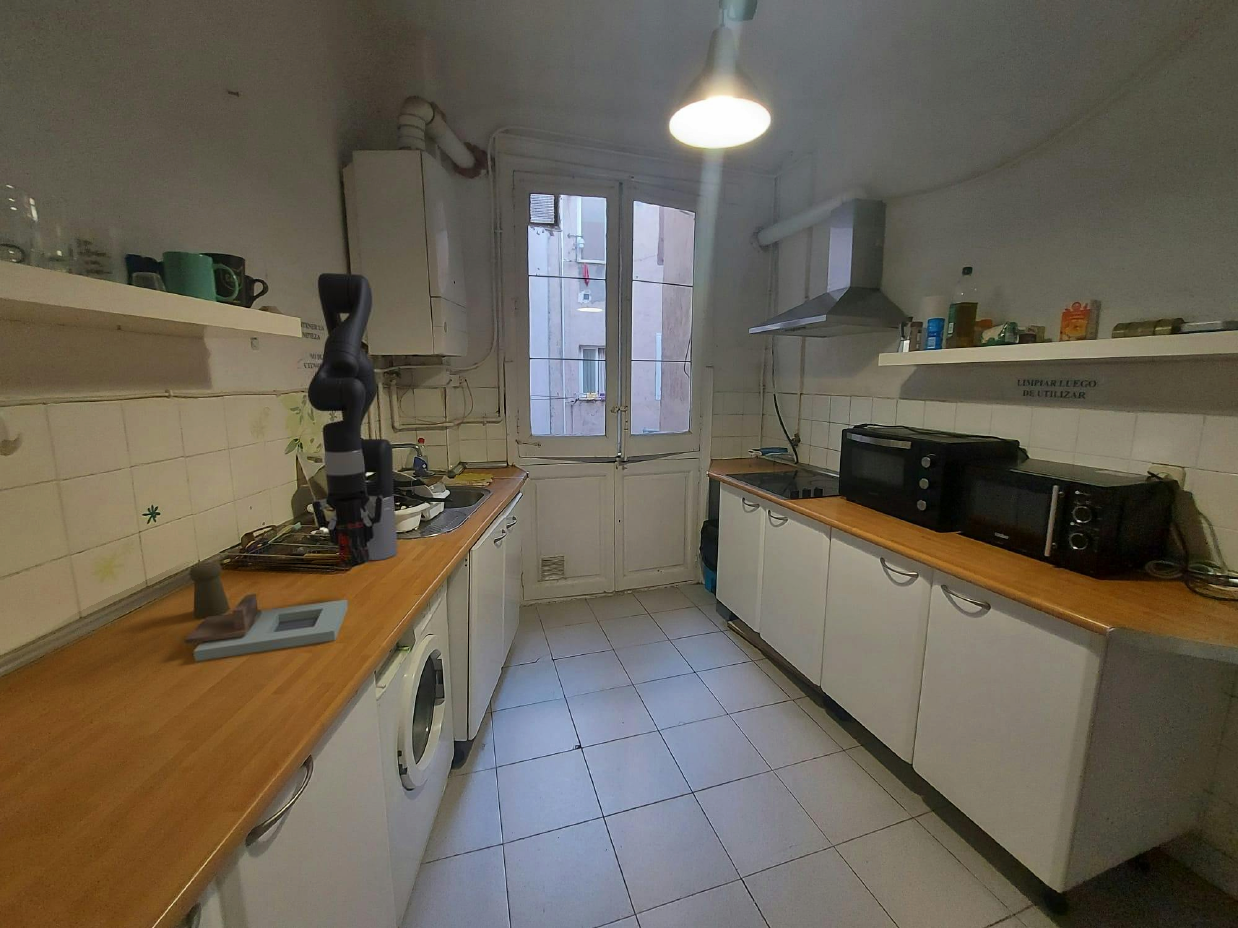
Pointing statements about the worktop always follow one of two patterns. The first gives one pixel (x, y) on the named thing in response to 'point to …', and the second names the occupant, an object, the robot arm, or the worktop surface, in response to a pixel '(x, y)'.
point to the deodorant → (351, 532)
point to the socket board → (281, 630)
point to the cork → (208, 590)
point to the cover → (228, 622)
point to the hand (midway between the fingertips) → (352, 541)
